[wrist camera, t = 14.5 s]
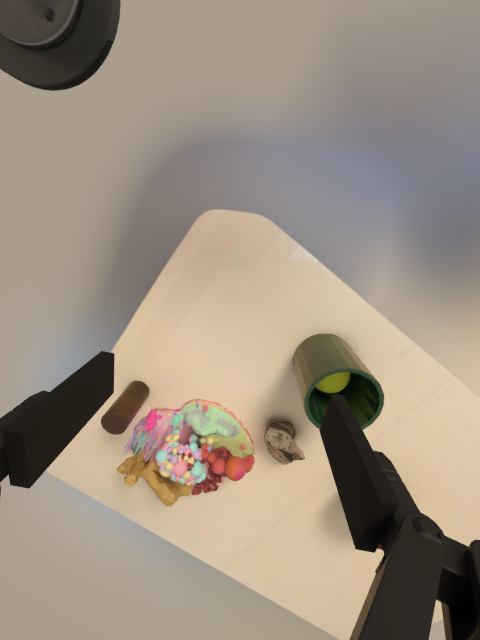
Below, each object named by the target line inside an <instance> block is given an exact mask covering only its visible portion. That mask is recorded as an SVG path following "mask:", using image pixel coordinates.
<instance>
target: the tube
mask: <svg viewBox="0 0 480 640" xmlns="http://www.w3.org/2000/svg"><path fill="white" fill-rule="evenodd" d="M293 364H294V370H295V374H296V378H297V382H298V386H299V390H300V394H301V398H302V401H303V405H304V409H305V412H306V414H307V416H308V418H309V420H310V421H311V422H312V423H313V424H314V425H315V426H316V427H317V428H319V429H320V427H321V424H322V421H323V418H324V415H325V412H326V409H327V406H328V403H329V400H330V397H331V394H338V395H343V396H345V398H346V400H347V402H348V404H349V406H350V407H351V409H352V411H353V413H354V415H355V417H356V419H357V421H358V423H359V425H360V427H361V429H362V430H363V429H365V428H366V427H368V426H369V425H371V424H372V423H373V422H374V421H375V420H376V419H377V418H378V416H379V415H380V413H381V410H382V408H383V405H384V393H383V391H382V388H381V385H380V384H379V382H378V381H377V380H376V379H375V377H374V376H373V375H372V374H371V372H370V371H369V370H368V368H367V367H366V366H365V365H364V363H363V362H362V361H361V360H360V358H359V357H358V356H357V355H356V353H355V352H354V351H353V350H352V348H351V347H350V346H349V345H348V344H347V343H346V342H345V341H344V340H343V339H342V338H340V337H338V336H336V335H332V334H318V335H314V336H311V337H309V338H308V339H306V340H305V341H303V342H302V343H301V344H300V345H299V347H298V348H297V350H296V352H295V355H294V359H293ZM342 372H350V380H349V383H348V384H347V386H346V387H345V388H344V389H342V390H341V391H339V392H336V393H326V392H323V391H320V390H319V389H317V388H316V387H315V386H316V385H317V383H319V382H320V381H321V380H323V379H324V378H325V377H327V376H330V375H333V374H336V373H342Z"/></svg>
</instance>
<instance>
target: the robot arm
mask: <svg viewBox="0 0 480 640" xmlns="http://www.w3.org/2000/svg"><path fill="white" fill-rule="evenodd" d="M82 5H83V0H0V33H1V34H2V35H3V36H5V37H6V38H7V39H9V40H10V41H12V42H13V43H15V44H17V45H19V46H21V47H24V48H26V49H30V50H47V49H50V48H53V47H55V46H57V45H59V44H61V43H62V42H63V41H64V40H65V39H66V38H67V37H68V36H69V35H70V34H71V33H72V31H73V29H74V28H75V26H76V24H77V22H78V20H79V17H80V14H81V10H82ZM113 393H114V353H109V352H103V351H101V352H100V353H99V354H98V355H96V356H95V357H94V358H92V359H91V360H90V361H89V362H87V363H86V364H85V365H84V366H83V367H81V368H80V369H78V370H77V371H76V372H75V373H73V374H72V375H71V376H70V377H69V378H67V379H66V380H65V381H63V382H62V383H61V384H60V385H58V386H57V387H56V388H54V389H53V390H52V391H51V392H47V391H41V392H39V393H37V394H34V395H32V396H30V397H29V398H27V399H26V400H25V401H24V402H22V403H21V404H20V405H18V406H17V407H15V408H14V409H13V410H12V411H10V412H8V413H7V414H6V415H4V416H3V417H2V418H0V482H1V481H2V480H3V479H4V478H5V477H6V476H7V475H8V474H9V479H10V485H13V486H18V487H24V488H30V487H31V486H32V485H33V484H34V483H35V481H36V480H37V479H38V478H39V477H40V476H41V475H42V474H43V472H44V471H45V470H46V469H47V468H48V467H49V466H50V464H51V463H52V462H53V461H54V460H55V459H56V458H57V456H58V455H59V454H60V453H61V452H62V451H63V450H64V449H65V447H66V446H67V445H68V444H69V443H70V442H71V441H72V439H73V438H74V437H75V436H76V435H77V434H78V433H79V431H80V430H81V429H82V428H83V427H84V426H85V425H86V423H87V422H88V421H89V420H90V419H91V418H92V417H93V415H94V414H95V413H96V412H97V411H98V410H99V409H100V408H101V406H102V405H103V404H104V403H105V402H106V401H107V400H108V398H109V397H110V396H111V395H112V394H113ZM319 431H320V434H321V437H322V441H323V444H324V447H325V450H326V454H327V457H328V460H329V463H330V467H331V470H332V473H333V477H334V480H335V483H336V486H337V490H338V493H339V496H340V500H341V503H342V506H343V509H344V513H345V516H346V519H347V522H348V526H349V529H350V532H351V536H352V539H353V542H354V545H355V549H358V550H363V551H368V552H374V553H375V551H376V549H377V547H378V545H379V543H381V546H382V549H383V551H384V556H383V558H382V560H381V562H380V564H379V566H378V567H377V569H376V571H375V572H376V575H375V577H374V580H373V582H372V585H371V587H370V590H369V592H368V595H367V597H366V600H365V602H364V605H363V607H362V610H361V612H360V615H359V617H358V620H357V622H356V625H355V627H354V630H353V632H352V635H351V637H350V640H428V639H429V633H430V628H431V623H432V618H433V613H434V607H435V602H436V599H437V600H438V601H440V602H441V604H442V612H443V620H444V628H445V636H446V640H480V540H474V541H473V542H471V544H470V545H469V547H468V546H466V545H463V544H461V543H459V542H457V541H455V540H453V539H451V538H448V537H447V536H445V535H444V534H443V532H442V530H441V529H440V528H439V526H438V525H437V524H436V523H435V522H434V521H433V520H431V519H430V518H429V517H428V516H426V515H424V514H422V513H420V511H419V509H418V508H417V506H416V504H415V502H414V501H413V499H412V497H411V495H410V494H409V492H408V490H407V488H406V487H405V485H404V483H403V482H402V480H401V478H400V476H399V474H397V471H396V469H395V467H394V466H393V464H392V462H391V461H390V460H389V459H388V458H387V457H386V456H385V455H384V454H383V453H382V452H376V451H373V450H372V448H371V446H370V444H369V442H368V440H367V438H366V436H365V434H364V433H363V431H362V429H361V427H360V425H359V423H358V421H357V419H356V417H355V415H354V413H353V411H352V409H351V407H350V406H349V404H348V402H347V400H346V398H345V396H343V395H338V394H331V397H330V400H329V403H328V406H327V409H326V412H325V415H324V418H323V421H322V424H321V427H320V430H319ZM0 491H1V487H0ZM0 494H1V492H0Z"/></svg>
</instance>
